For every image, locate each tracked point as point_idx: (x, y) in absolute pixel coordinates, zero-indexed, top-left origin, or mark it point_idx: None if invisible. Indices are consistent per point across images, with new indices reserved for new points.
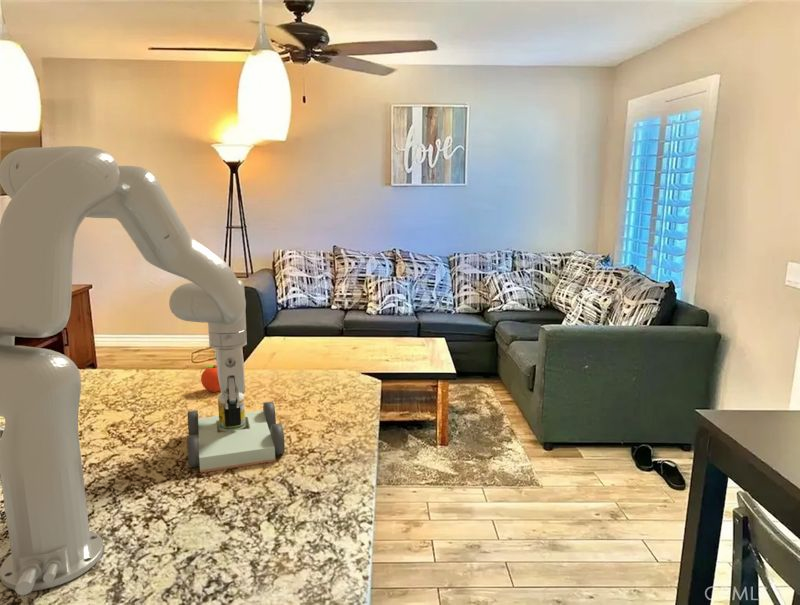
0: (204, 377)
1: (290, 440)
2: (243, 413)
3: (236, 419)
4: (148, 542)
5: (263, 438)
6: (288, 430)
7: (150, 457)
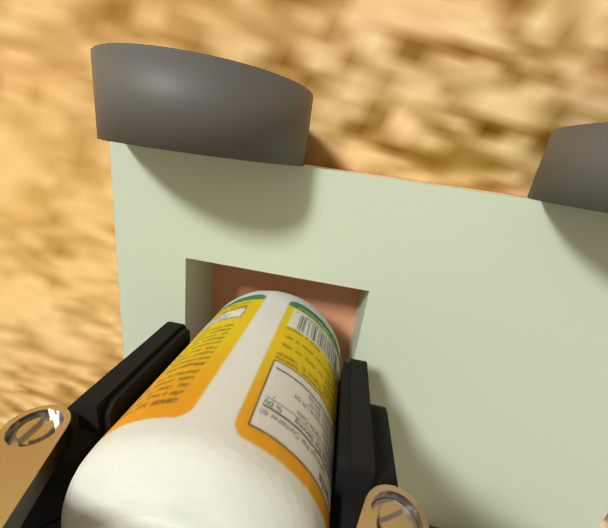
0: None
1: (471, 53)
2: (302, 357)
3: (388, 423)
4: None
5: (581, 264)
6: (320, 23)
7: None
